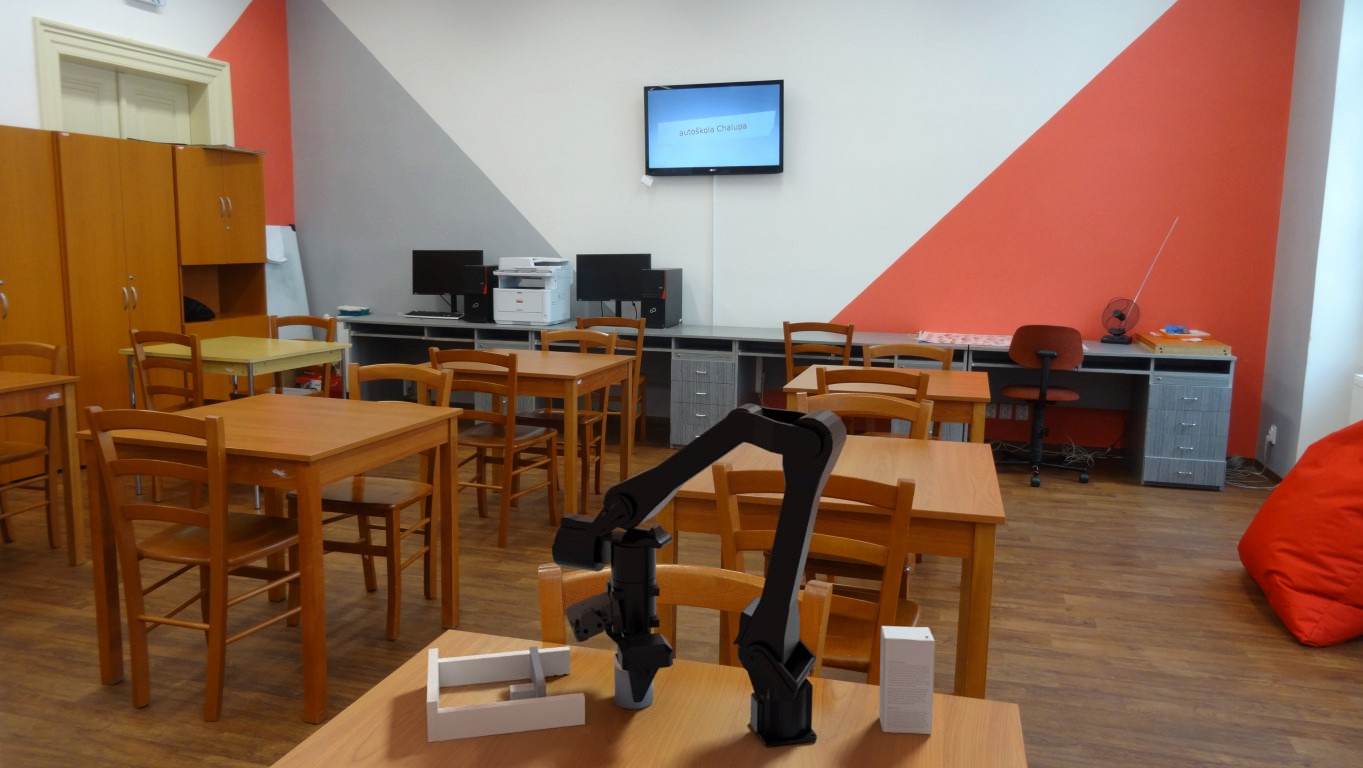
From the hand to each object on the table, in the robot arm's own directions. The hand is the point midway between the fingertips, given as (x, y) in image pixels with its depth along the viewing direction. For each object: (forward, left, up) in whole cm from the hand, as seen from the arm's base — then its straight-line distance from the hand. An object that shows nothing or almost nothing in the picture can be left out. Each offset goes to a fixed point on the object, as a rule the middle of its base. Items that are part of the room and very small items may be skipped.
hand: (633, 692), depth 123 cm
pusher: (+13, -3, -1) cm, 14 cm away
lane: (+16, -3, -1) cm, 16 cm away
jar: (0, 0, -1) cm, 1 cm away
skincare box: (-31, +14, -1) cm, 34 cm away
